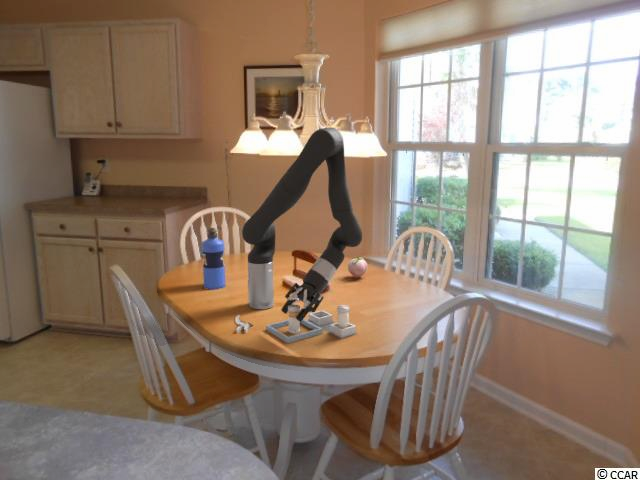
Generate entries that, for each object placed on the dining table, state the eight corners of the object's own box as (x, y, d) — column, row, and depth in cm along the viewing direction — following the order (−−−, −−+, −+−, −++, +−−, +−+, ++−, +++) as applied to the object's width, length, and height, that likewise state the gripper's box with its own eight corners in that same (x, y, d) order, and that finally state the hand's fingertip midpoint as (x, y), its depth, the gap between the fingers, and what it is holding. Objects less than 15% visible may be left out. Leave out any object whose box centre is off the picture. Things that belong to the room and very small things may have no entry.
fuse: (334, 332, 154) (334, 306, 152) (343, 329, 156) (344, 304, 155) (342, 336, 151) (342, 310, 149) (351, 333, 153) (351, 307, 152)
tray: (266, 332, 156) (266, 325, 156) (299, 323, 164) (299, 316, 163) (287, 346, 146) (287, 338, 146) (322, 336, 154) (322, 328, 153)
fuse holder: (306, 323, 164) (306, 313, 164) (322, 318, 168) (322, 309, 168) (341, 341, 149) (341, 331, 148) (358, 336, 153) (358, 326, 153)
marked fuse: (286, 331, 155) (285, 306, 154) (295, 328, 157) (295, 303, 156) (292, 335, 152) (292, 309, 151) (302, 332, 154) (302, 307, 153)
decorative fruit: (352, 274, 224) (352, 253, 222) (369, 276, 220) (369, 255, 218) (344, 279, 215) (344, 257, 213) (361, 281, 212) (362, 259, 210)
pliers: (265, 313, 170) (256, 330, 155) (265, 317, 170) (256, 334, 156) (237, 312, 171) (225, 329, 156) (237, 316, 171) (226, 333, 156)
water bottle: (224, 282, 211) (222, 225, 206) (227, 288, 202) (224, 229, 197) (202, 284, 208) (199, 226, 203) (204, 290, 200) (201, 230, 194)
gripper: (300, 264, 161) (271, 303, 156) (326, 273, 149) (295, 316, 145) (313, 276, 165) (285, 315, 161) (339, 287, 154) (310, 329, 149)
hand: (290, 316), depth 153 cm, fingers open, 8 cm apart
